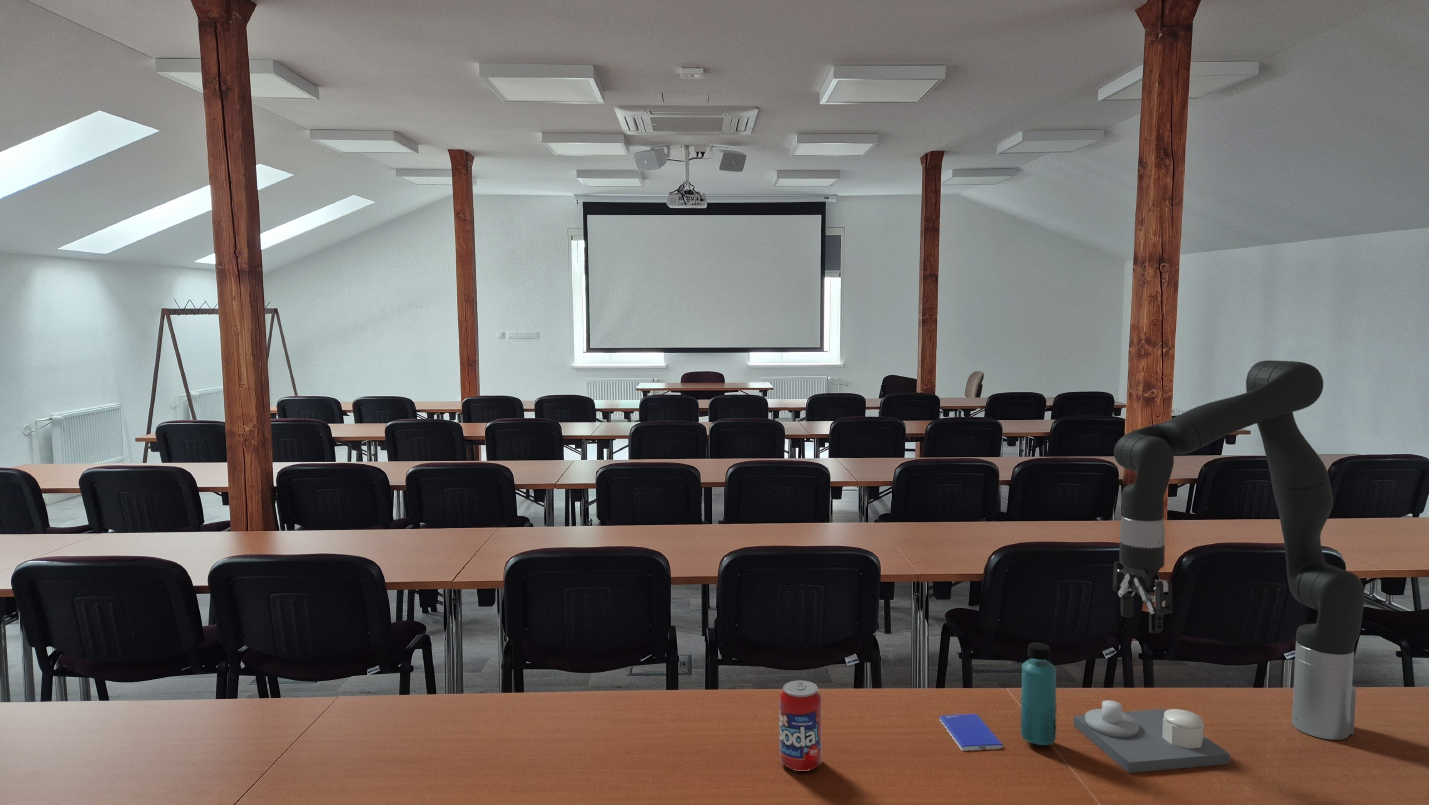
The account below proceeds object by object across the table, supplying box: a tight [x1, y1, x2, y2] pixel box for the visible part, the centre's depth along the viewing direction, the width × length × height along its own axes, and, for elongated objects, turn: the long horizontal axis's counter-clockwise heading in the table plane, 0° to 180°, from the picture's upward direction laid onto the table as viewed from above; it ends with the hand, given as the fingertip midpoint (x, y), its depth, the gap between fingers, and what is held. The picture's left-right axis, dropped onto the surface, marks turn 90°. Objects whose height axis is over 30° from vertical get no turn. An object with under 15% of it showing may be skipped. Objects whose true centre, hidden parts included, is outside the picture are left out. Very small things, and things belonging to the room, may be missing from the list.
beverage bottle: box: [1019, 642, 1058, 746], centre depth 159 cm, size 6×7×20 cm
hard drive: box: [938, 713, 1004, 752], centre depth 164 cm, size 2×8×12 cm
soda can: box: [778, 679, 823, 770], centre depth 153 cm, size 8×8×15 cm
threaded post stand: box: [1073, 699, 1231, 774], centre depth 159 cm, size 20×18×6 cm
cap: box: [1162, 708, 1205, 749], centre depth 157 cm, size 6×6×4 cm
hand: (1140, 624), depth 156 cm, fingers open, 8 cm apart
